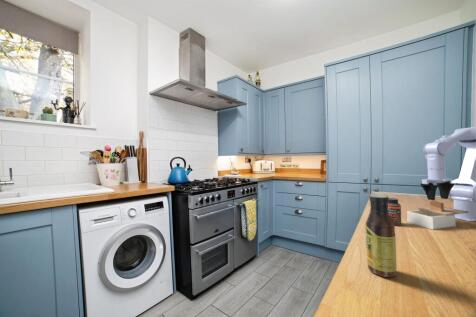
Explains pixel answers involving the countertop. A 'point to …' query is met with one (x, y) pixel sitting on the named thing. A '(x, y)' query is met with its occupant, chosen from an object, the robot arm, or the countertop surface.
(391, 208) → the supplement bottle
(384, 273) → the sauce bottle
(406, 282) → the countertop surface
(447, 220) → the carton
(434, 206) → the lid
